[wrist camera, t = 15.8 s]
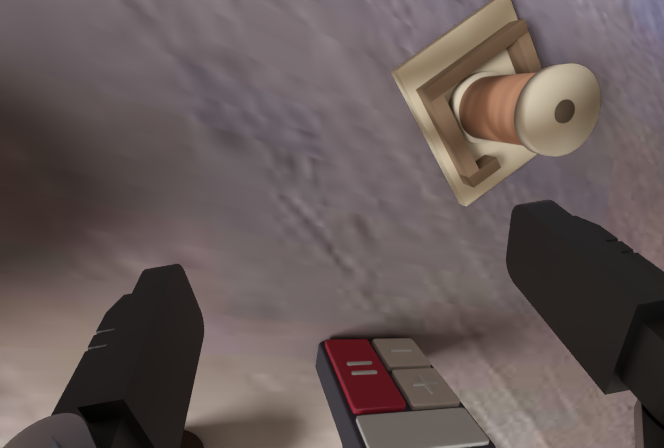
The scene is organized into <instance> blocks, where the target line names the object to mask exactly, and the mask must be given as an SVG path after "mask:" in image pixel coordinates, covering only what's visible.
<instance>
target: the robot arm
mask: <svg viewBox="0 0 664 448" xmlns="http://www.w3.org/2000/svg"><path fill="white" fill-rule="evenodd" d="M506 264H507V269H508V273H509V275H510V277H511V279H512V281H513V282H514V284H515V285H516V286H517V287H518V289H519V290H520V291H521V292H522V294H523V295H524V296H525V297H526V298H527V300H528V301H529V302H530V303H531V305H532V306H533V307H534V308H535V309H536V311H537V312H538V313H539V314H540V316H541V317H542V318H543V319H544V321H545V322H546V323H547V324H548V325H549V327H550V328H551V329H552V330H553V332H554V333H555V334H556V335H557V336H558V338H559V339H560V340H561V341H562V343H563V344H564V345H565V346H566V348H567V349H568V350H569V351H570V352H571V354H572V355H573V356H574V357H575V359H576V360H577V361H578V362H579V363H580V365H581V366H582V367H583V368H584V370H585V371H586V372H587V373H588V375H589V376H590V377H591V378H592V379H593V381H594V382H595V383H596V384H597V386H598V387H599V388H600V389H601V390H602V392H603V393H604V394H605V395H606V394H611V393H616V392H621V391H626V390H630V391H631V392H632V393H633V394H634V395H635V396H636V397H637V398H638V399H637V401H636V404H635V406H634V429H635V448H664V272H663V271H662V270H661V269H659V268H658V267H656V266H655V265H654V264H652V263H651V262H650V261H648V260H647V259H645V258H644V257H643V256H641V255H640V254H638V253H634V252H633V249H631V248H630V247H629V246H627V245H626V244H625V243H623V242H622V241H620V242H619V241H618V238H616V237H615V236H613V235H612V234H611V233H609V232H608V231H607V230H605V229H604V228H602V227H601V226H600V225H597V224H595V223H592V222H590V221H587V220H585V219H582V218H580V217H577V216H572V215H571V214H570V213H568V212H567V211H566V210H564V209H563V208H562V207H560V206H559V205H558V204H556V203H555V202H554V201H552V200H543V201H537V202H531V203H525V204H520V205H516V206H515V207H514V208H513V210H512V214H511V222H510V230H509V238H508V246H507V254H506ZM96 332H97V335H94V336H93V338H92V340H91V342H90V344H89V346H88V351H86V352H85V353H84V355H83V357H82V359H81V361H80V362H79V364H78V366H77V368H76V370H75V372H74V374H73V376H72V377H71V379H70V381H69V383H68V385H67V387H66V389H65V390H64V392H63V394H62V396H61V398H60V400H59V402H58V403H57V405H56V407H55V409H54V411H53V413H52V415H51V416H49V417H46V418H44V419H42V420H39V421H37V422H35V423H34V424H32V425H30V426H28V427H27V428H25V429H24V430H23V431H21V432H20V433H18V434H17V435H16V436H15V437H14V438H12V439H11V440H10V441H9V442H8V443H7V444H6V445H5V446H4V447H3V448H180V445H181V440H182V435H183V431H184V426H185V421H186V417H187V412H188V408H189V403H190V398H191V394H192V389H193V384H194V380H195V375H196V370H197V366H198V361H199V356H200V352H201V347H202V342H203V337H204V322H203V317H202V313H201V310H200V308H199V305H198V303H197V300H196V298H195V296H194V293H193V291H192V288H191V286H190V283H189V281H188V278H187V276H186V274H185V271H184V269H183V268H182V266H181V265H180V264H173V265H167V266H162V267H156V268H150V269H145V270H144V271H143V272H142V274H141V276H140V278H139V280H138V282H137V284H136V286H135V288H134V290H133V292H132V294H127V295H123V296H122V297H121V298H120V299H119V300H118V301H117V302H116V303H115V304H114V305H113V306H112V307H111V308H110V309H109V310H108V311H107V312H106V314H105V316H104V318H103V320H102V321H101V323H100V325H99V327H98V329H97V331H96Z"/></svg>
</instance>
